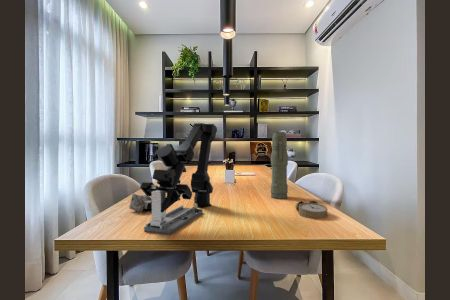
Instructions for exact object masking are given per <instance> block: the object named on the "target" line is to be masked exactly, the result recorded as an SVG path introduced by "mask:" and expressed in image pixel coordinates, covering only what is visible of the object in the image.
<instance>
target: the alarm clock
mask: <svg viewBox="0 0 450 300" xmlns="http://www.w3.org/2000/svg"><path fill="white" fill-rule="evenodd" d="M295 209H296V211H297V212H298V215H299V216H301V217H303V218H306V219H312V220H314V219H315V220H323V219H326V218H327V217H329V216H330V215H329V214H328V207H327V206H325V205H323V204H320V203H318V202H317V201H315V200H310V201H309V202H305V201H303V200H299V201H297V202H296V203H295Z"/></svg>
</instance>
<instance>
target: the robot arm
mask: <svg viewBox="0 0 450 300" xmlns="http://www.w3.org/2000/svg"><path fill="white" fill-rule="evenodd" d="M217 133H218V127H217V126H216V125H215V123H204V122H196V123H195V122H194V123H193V124H192V128H191V130H190V132H189V133H188V135H187V136H186V138H185V139H184V141H183V142H182V143H181V144H178V145H177V146H176V147H175V148H174V146H173V144H172V143H166V145H164V146H162V147H160V148H159V149H158V150H157V152H156V154H157V157H158V158H159V159H160V161H161V162H162V164H163V165H164V166H165V167H167V169H153V175H152V179H153V180H155V181H156V184H157V185H156V184H154V182H153V181H143V182H142V183H141V185H140V187H139V188H140V190H141V191H142V192H143V193H144V195H147V196H149V197H150V198H151V209H150V211H151V212H152V192H153V191H156V190H161V191H166V199H165V201H164V203H163V205H162V208H161V212H162V213H163V212H164V211H165V210H166V211H167V210H168V209H169V207H171V206H173V205H174V204H175V203H176V202H178V201H181V198H182V199H183V200H192V196H193V193H194V196H193V198H194V200H193V201H194V202H193V206H194V204H195V203H197V208H199V209H200V208H201V209H202V208H207V207H211V206H212V203H211V198H210V197H211V196H210V194H212V193H213V192H214V191H213V190H214V188H213V185H212V183H211V181H210V180H211V177H210V176H209V173H208V168H209V162H210V155H211V147H212V142H213V141H214V140H215V139H216V135H217ZM199 140H200V147H199V151H198V152H199V154H198V161H197V167H196V168H197V169H196V171H195V172H192V174H191V179H190V186H189V185H188V184H186V183H185V184H183V183H181V177H182V174H183V173H187V168H186V165H184V164H185V163H187V164H188V163H191V162H192V160H193V158H194V156H195V152H194V151H195V150H194V149H195V147H196V145H197V144H198V141H199Z"/></svg>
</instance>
